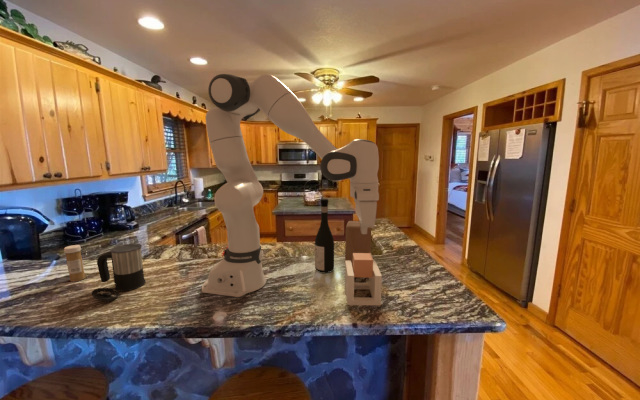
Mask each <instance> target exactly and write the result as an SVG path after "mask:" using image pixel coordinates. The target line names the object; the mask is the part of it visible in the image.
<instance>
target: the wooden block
mask: <svg viewBox="0 0 640 400" xmlns="http://www.w3.org/2000/svg"><path fill="white" fill-rule="evenodd" d="M344 240H345V244H344V245H345V247H344V249H345V250H344V253H345V254H344V256H345V257H344V260H345V261H351V263H352V266H353V253H370V254H371V255H372V253H371V252H372V227H368V228H367V234H362V233H361V231H360V220H348V222H347V224H346V226H345V239H344ZM345 261H344V262H345Z"/></svg>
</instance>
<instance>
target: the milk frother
mask: <svg viewBox="0 0 640 400" xmlns="http://www.w3.org/2000/svg"><path fill="white" fill-rule="evenodd" d="M142 246H143V245H142V244H141V243H127V244H121V245H117V246H115V247H112V248H110V250H109V251H106V252H104V253H102V254H101V255H99V257H98V258H97V259H96V264H97V269H98V273H99V278H100V281H101V282H102V283H106V282H108V281H109V280H110V279H111V275H110V269H109V265H108V259H111V264H112V272H113V273H112V274H113V275H112V276H113V282H114V287H102V288H101V287H98V288H96V289H93V290H92V291H91V296H92V298H93V299H95V300H97V301H102V302H103V301H104V302H109V301H113V300H116V299H117V298H119V297H120V292H126V291H127V292H129V291H132V290H135V289H139V288H141V287H143V285H145V284H146V279H145V273H144V268H143V267H144V266H143V265H144V264H143V256H142Z"/></svg>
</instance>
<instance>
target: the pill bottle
mask: <svg viewBox="0 0 640 400" xmlns="http://www.w3.org/2000/svg"><path fill="white" fill-rule="evenodd" d="M63 250H64V251H63V252H64V253H65V259H66V265H67V270H68V274H69V281H70V282H72V283H73V282H80V281H82V280H84V279H85V278H86V275H85V266H84V262H83V257H82V252H81V250H82V248H81V245H80V244H75V245H68V246H65V247H64V248H63Z"/></svg>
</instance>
